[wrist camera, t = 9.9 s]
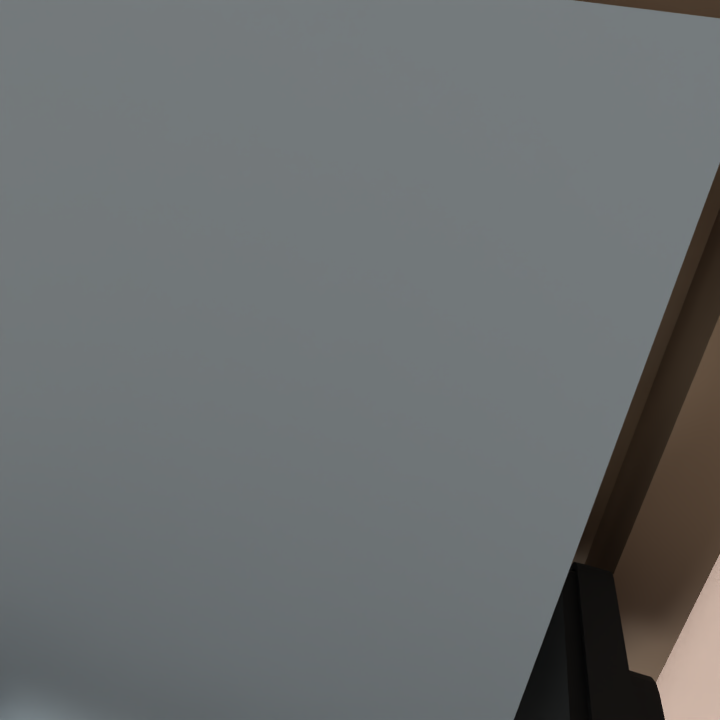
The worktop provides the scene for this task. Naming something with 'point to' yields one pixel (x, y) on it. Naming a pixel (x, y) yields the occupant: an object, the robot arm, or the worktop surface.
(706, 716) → the worktop surface
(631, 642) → the cradle
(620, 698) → the robot arm
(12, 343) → the light blue block
